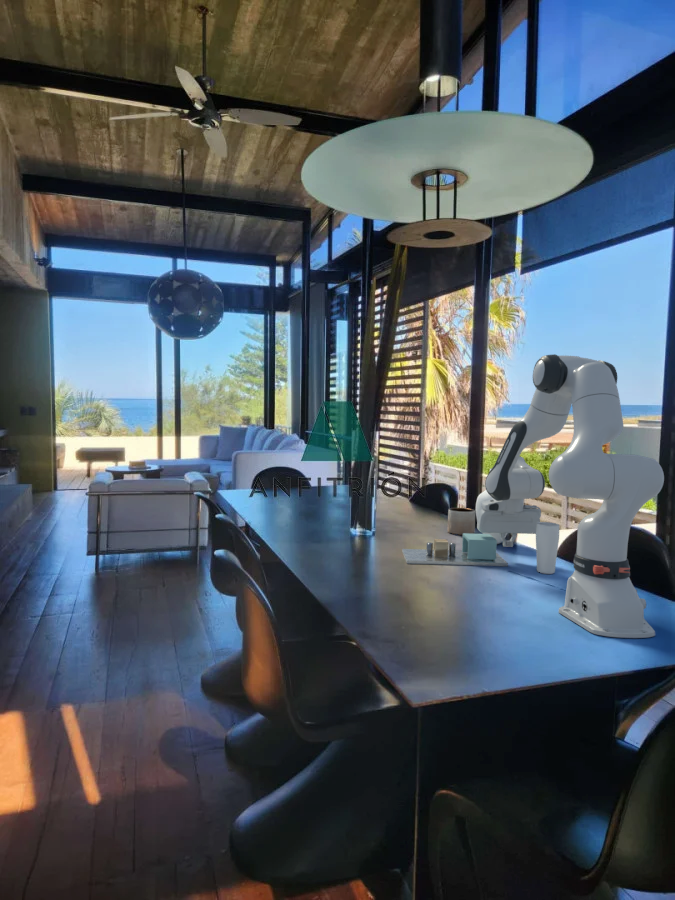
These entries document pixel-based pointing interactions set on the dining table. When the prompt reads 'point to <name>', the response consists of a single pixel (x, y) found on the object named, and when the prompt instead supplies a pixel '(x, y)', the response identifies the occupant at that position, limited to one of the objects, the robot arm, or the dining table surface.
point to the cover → (479, 546)
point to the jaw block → (440, 548)
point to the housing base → (453, 557)
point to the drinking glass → (546, 546)
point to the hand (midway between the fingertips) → (507, 546)
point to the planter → (461, 521)
